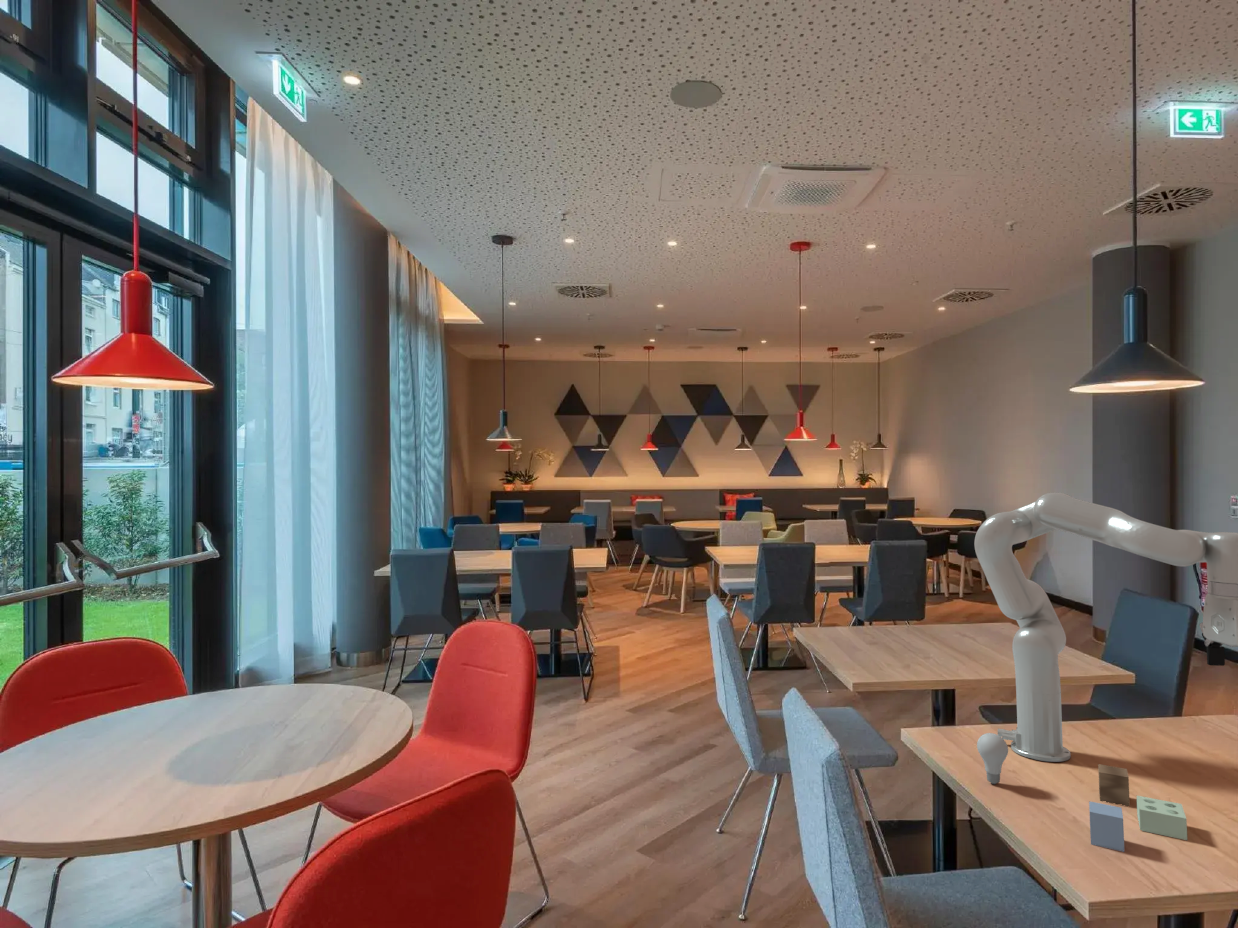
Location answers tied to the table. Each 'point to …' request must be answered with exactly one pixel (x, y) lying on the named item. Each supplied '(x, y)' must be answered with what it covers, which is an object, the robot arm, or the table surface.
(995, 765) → the lightbulb
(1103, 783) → the walnut block
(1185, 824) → the base brick
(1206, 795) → the table surface
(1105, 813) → the slate block
